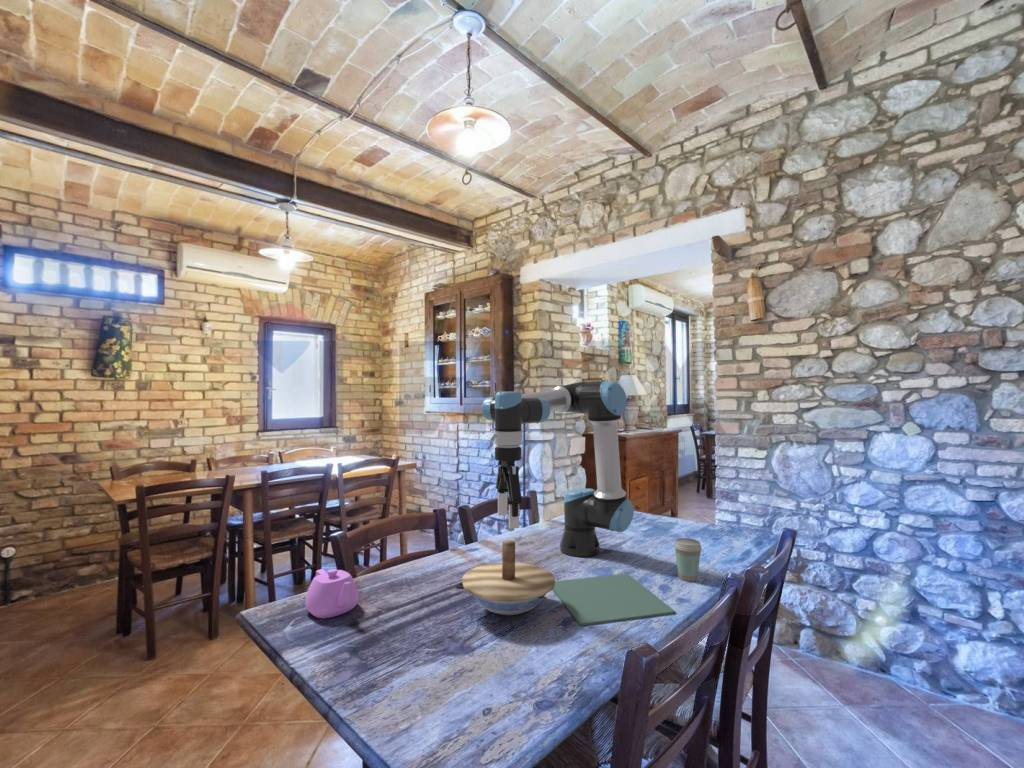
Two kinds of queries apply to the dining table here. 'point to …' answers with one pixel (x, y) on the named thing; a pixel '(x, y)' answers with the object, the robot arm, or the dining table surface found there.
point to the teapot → (331, 593)
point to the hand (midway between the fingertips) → (508, 521)
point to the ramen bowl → (507, 604)
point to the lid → (508, 579)
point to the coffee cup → (687, 558)
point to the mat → (608, 599)
